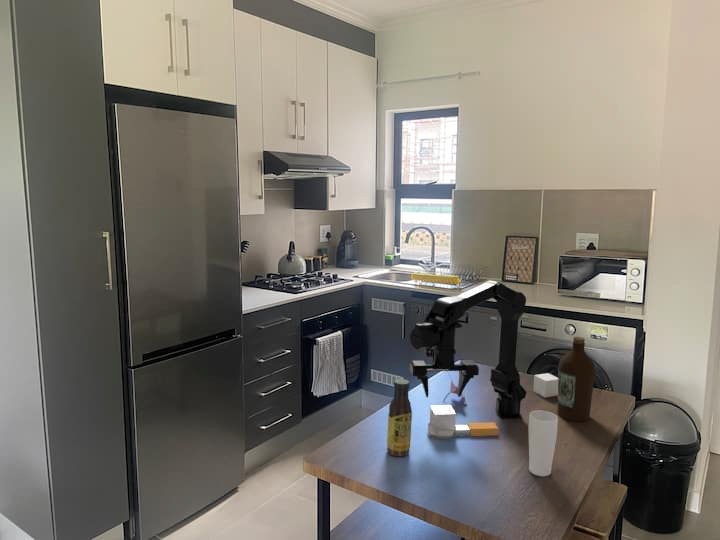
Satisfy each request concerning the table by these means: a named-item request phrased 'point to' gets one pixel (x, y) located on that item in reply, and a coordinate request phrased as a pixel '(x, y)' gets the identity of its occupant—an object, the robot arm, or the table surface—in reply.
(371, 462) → the table surface
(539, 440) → the drinking glass
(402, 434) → the sauce bottle
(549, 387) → the white cube
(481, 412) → the table surface
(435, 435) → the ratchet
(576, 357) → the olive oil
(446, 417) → the brushed metal cube
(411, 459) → the table surface
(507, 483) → the table surface
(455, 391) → the lily
